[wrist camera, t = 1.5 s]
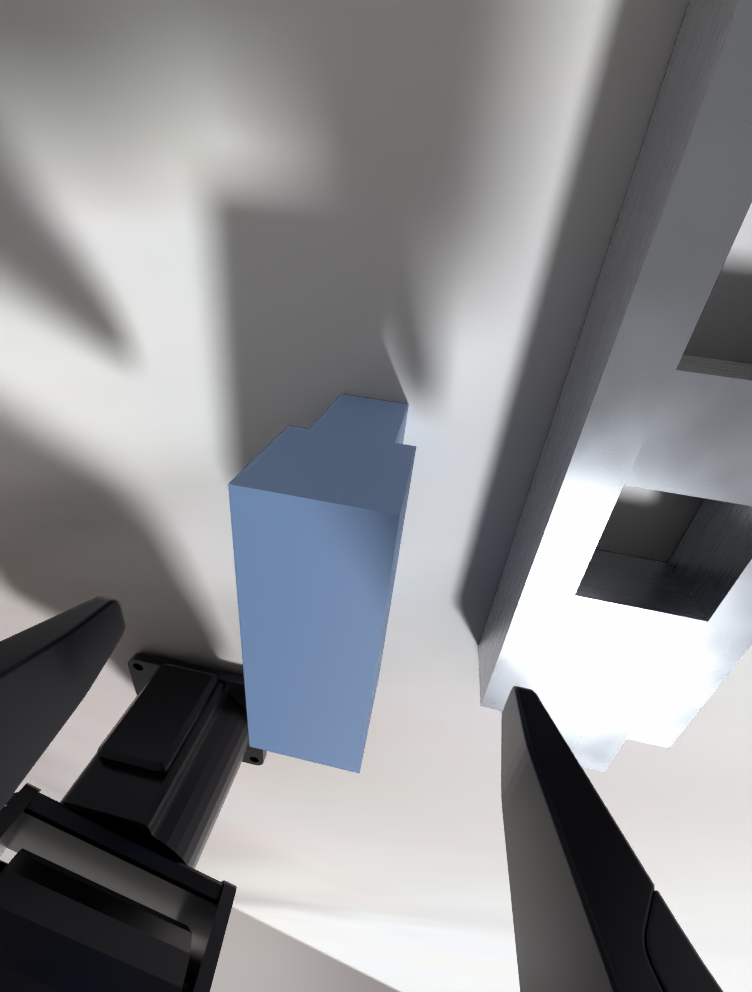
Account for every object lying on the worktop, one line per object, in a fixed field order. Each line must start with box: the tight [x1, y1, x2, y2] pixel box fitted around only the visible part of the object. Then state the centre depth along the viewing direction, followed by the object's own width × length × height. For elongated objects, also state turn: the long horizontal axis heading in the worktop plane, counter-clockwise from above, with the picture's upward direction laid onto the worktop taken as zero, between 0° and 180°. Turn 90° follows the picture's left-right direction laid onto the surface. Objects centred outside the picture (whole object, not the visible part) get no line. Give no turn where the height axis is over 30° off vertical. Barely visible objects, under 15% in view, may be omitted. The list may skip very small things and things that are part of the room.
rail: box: [478, 0, 752, 772], centre depth 10 cm, size 24×6×2 cm, turn 174°
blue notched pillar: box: [228, 394, 416, 773], centre depth 12 cm, size 8×3×6 cm, turn 174°
